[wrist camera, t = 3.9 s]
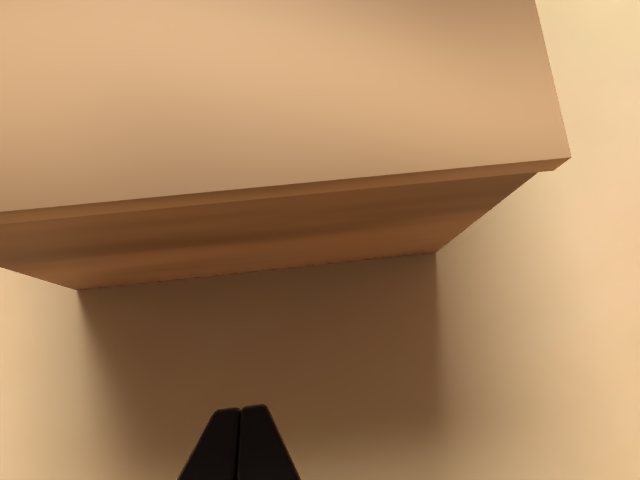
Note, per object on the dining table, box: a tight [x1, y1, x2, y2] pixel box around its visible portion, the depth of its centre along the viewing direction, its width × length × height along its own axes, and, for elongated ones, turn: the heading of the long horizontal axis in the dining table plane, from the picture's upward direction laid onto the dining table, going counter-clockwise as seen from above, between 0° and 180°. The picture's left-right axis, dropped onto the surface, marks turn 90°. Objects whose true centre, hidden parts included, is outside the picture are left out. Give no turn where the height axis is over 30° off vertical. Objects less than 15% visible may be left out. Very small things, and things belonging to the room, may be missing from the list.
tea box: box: [0, 0, 571, 290], centre depth 13 cm, size 10×11×8 cm
